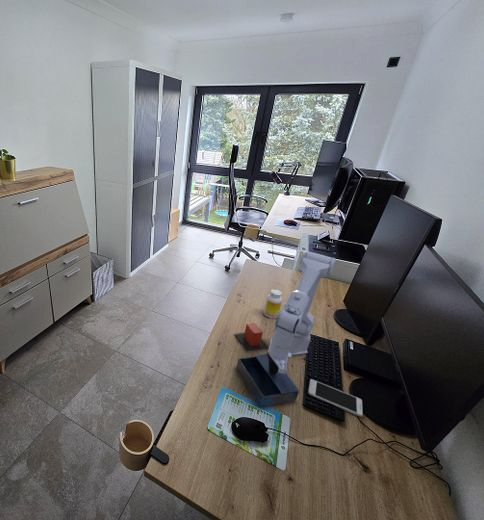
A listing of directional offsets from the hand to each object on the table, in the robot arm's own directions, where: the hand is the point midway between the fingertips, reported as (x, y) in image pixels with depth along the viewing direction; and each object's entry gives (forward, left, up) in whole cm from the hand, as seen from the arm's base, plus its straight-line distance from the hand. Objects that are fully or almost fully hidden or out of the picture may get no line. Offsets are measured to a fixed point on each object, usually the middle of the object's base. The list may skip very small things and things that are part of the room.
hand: (272, 372), depth 101 cm
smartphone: (-19, +9, -6) cm, 22 cm away
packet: (-5, -21, -6) cm, 22 cm away
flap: (-1, 0, 0) cm, 1 cm away
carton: (+2, 0, -6) cm, 6 cm away
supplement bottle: (-24, -37, -6) cm, 45 cm away
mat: (-5, -21, -6) cm, 22 cm away
